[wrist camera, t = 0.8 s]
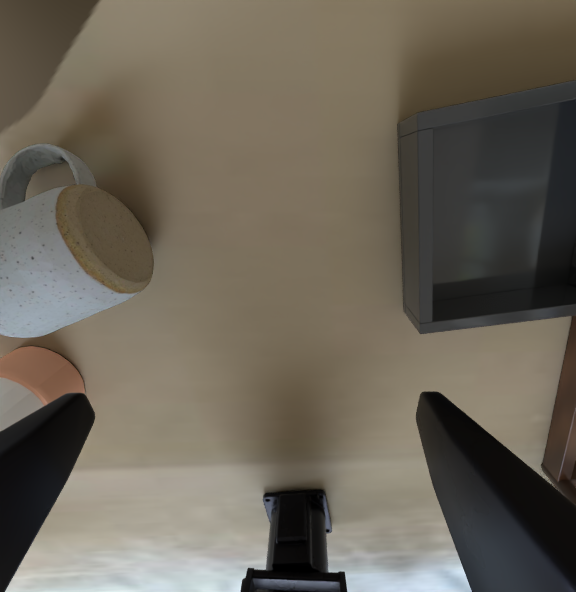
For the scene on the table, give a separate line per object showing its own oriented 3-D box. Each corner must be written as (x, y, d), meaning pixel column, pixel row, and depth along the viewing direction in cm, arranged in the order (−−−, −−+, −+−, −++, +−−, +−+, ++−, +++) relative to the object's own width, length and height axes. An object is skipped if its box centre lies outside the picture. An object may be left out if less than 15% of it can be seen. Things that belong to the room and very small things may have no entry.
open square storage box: (571, 289, 21) (619, 310, 18) (403, 311, 22) (419, 334, 19) (611, 79, 16) (686, 56, 13) (396, 123, 18) (417, 112, 14)
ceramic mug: (177, 272, 22) (115, 317, 15) (90, 308, 24) (-4, 364, 17) (93, 122, 19) (-39, 87, 12) (-3, 176, 20) (-170, 174, 13)
